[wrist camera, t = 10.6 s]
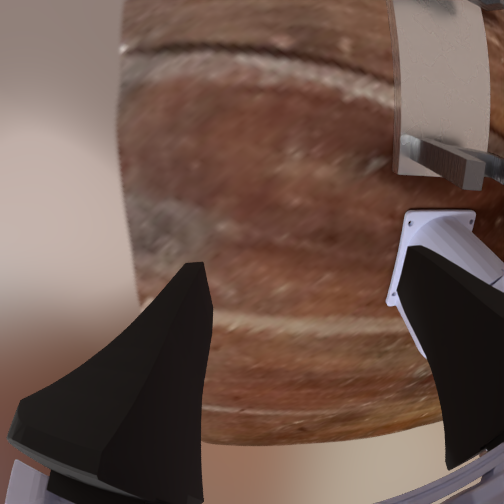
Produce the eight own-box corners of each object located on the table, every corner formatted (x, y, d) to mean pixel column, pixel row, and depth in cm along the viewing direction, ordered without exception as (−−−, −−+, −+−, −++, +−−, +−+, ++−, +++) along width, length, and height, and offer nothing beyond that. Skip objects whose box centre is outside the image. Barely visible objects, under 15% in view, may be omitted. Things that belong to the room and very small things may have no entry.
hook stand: (475, 176, 17) (530, 212, 11) (391, 170, 17) (447, 210, 12) (469, -7, 8) (525, -15, 2) (376, -42, 9) (422, -78, 3)
